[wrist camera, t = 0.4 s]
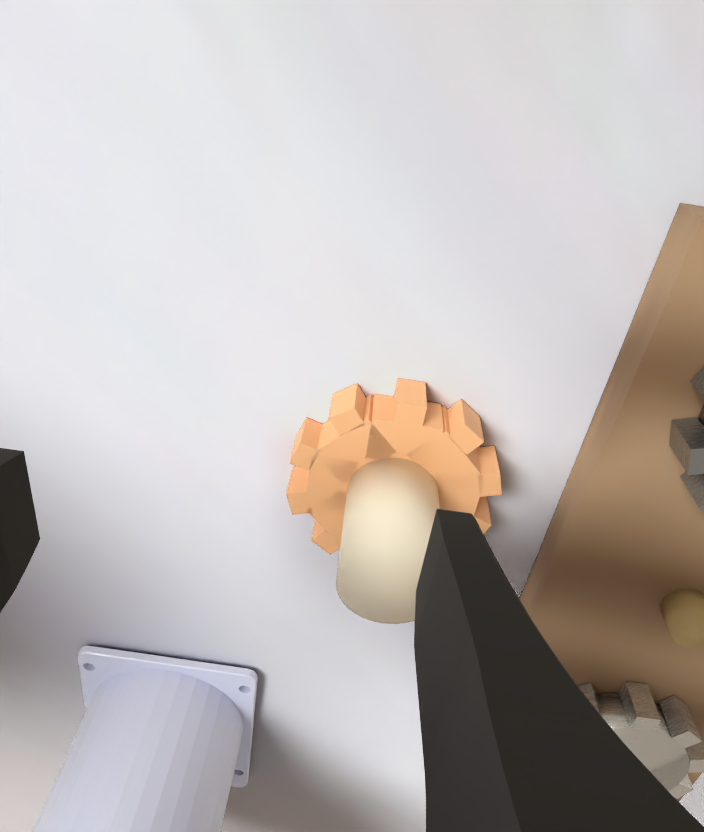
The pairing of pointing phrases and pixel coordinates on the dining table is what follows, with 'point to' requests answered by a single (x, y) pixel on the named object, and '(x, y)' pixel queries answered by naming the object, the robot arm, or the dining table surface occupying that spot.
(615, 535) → the gear board
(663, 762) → the gear
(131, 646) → the dining table surface
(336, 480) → the loose gear
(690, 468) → the gear
